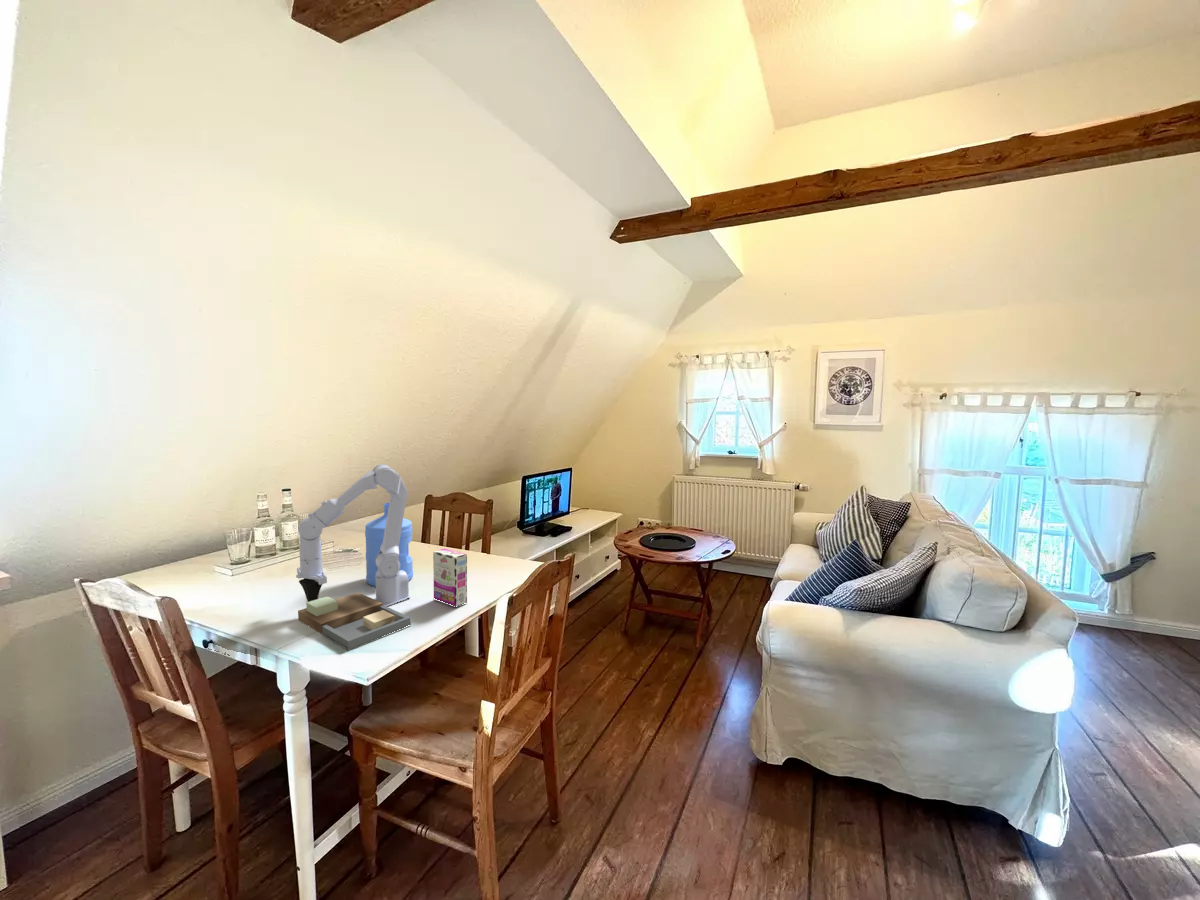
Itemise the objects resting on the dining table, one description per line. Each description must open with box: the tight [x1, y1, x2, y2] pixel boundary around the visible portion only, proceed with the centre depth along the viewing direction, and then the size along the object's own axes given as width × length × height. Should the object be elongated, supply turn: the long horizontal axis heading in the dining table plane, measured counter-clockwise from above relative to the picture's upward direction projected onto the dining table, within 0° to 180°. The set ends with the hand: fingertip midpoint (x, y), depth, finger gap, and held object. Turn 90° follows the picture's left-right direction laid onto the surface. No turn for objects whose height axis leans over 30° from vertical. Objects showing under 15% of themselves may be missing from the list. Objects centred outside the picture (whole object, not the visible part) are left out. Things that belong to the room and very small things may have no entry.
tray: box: [321, 605, 412, 651], centre depth 138 cm, size 18×14×2 cm
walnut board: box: [297, 592, 383, 635], centre depth 147 cm, size 18×14×3 cm
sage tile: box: [306, 596, 338, 616], centre depth 144 cm, size 6×6×2 cm
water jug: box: [364, 502, 414, 587], centre depth 176 cm, size 16×16×28 cm
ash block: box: [363, 610, 395, 630], centre depth 141 cm, size 6×6×2 cm
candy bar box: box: [432, 548, 468, 608], centre depth 159 cm, size 11×5×16 cm, turn 56°
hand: (312, 601), depth 147 cm, fingers closed
